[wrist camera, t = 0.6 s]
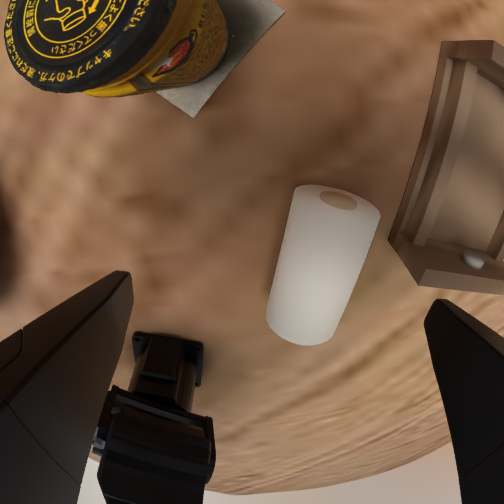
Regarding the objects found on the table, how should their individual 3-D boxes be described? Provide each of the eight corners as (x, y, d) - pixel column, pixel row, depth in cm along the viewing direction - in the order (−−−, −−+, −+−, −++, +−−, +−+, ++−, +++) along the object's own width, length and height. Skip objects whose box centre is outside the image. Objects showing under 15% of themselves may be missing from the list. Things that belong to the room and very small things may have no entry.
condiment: (103, 59, 15) (-44, 69, 5) (187, -46, 12) (115, -151, 1) (194, 117, 17) (113, 181, 7) (285, 12, 14) (334, -77, 4)
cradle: (484, 259, 23) (517, 296, 18) (387, 240, 22) (418, 285, 17) (537, 103, 15) (583, 119, 10) (441, 41, 14) (494, 40, 9)
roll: (327, 301, 25) (341, 349, 20) (263, 294, 24) (265, 344, 20) (365, 191, 20) (395, 226, 15) (289, 176, 19) (301, 209, 15)
